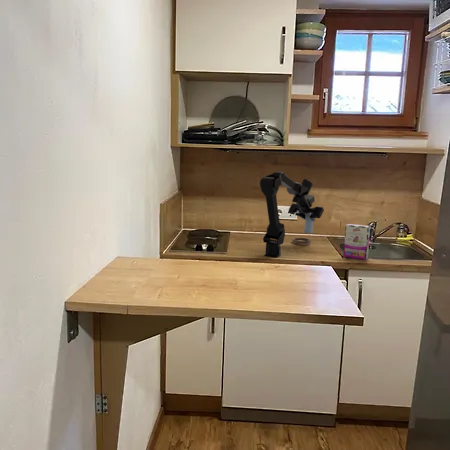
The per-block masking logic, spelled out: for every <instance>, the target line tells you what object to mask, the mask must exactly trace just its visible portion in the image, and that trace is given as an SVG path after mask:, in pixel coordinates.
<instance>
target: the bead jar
mask: <svg viewBox="0 0 450 450" xmlns="http://www.w3.org/2000/svg"><path fill="white" fill-rule="evenodd" d="M310 215H311V213H310V214H309V213H307V214H305V220H304V230H303V232H304V234H313V232H314V223H315V222H314V221H313V220H312V219H311V218H310Z"/></svg>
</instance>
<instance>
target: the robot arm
mask: <svg viewBox="0 0 450 450" xmlns="http://www.w3.org/2000/svg"><path fill="white" fill-rule="evenodd" d="M281 185H282V186H283V187H285V188H286V191H287V193H288V194H289V195H292V196H293V198H292V203H291V204H290V206H289V208H288V214H289V215H295V216H297V217H299V218H300V219H302V220H304V221H305V214H307V213H309V214H310V213H311V215H310V218H311V219H312V220H313V221H314V222H313V223H315V221H316V219H320V218H321V217H322V215H323V213H324V212H325V209H324V207H323V206H314V207H313V203H315V202H316V200H315V195H314V194H310V192H311V190H312V188H313V186H314V184H313V182H311V181H310V180H308V179H307V178H303V180H302V182H301V183H300V182H296V181H294V180H292V179H291V178H290V177H288V176H287V175H286V174H285V172H283V171H274V172H273V173H270V174H268V175H266V176H263V177H262V178H261V179H260V181H259V187H260V190H261V192H262V194H263V195H264V196H265V203H266V209H267V214H268V215H267V216H268V225H267V227H266V232H265V235H264V236H263V238H262V241H263V243H265V253H264V254H263V256H265V257H271V258H278V257H279V256H281V254H282V253H281V252H282V244H284V242H285V237H286V229H285V224H284V223H282V222H280V215H279V209H278V208H279V207H278V201H277V200H278V199H277V193H278V192H279V187H281Z"/></svg>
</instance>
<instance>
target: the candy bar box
mask: <svg viewBox="0 0 450 450" xmlns="http://www.w3.org/2000/svg"><path fill="white" fill-rule="evenodd" d="M344 229H345V232H344V243H343V244H344V246H343V255H342V257H343V258H347V259H352V260H353V259H354V260H360V261H366V259H367V260H368V258H369V248H370V237H371V236H370V235H371V225H366V224H365V225H364V224H354V223H346V224H345V228H344Z"/></svg>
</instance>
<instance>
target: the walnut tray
mask: <svg viewBox="0 0 450 450" xmlns="http://www.w3.org/2000/svg"><path fill="white" fill-rule="evenodd" d="M291 242H292V244H293V245H298V246H309V245H312V244H311V242H312V239H311V238H307V237H293V238H292V240H291Z"/></svg>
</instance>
